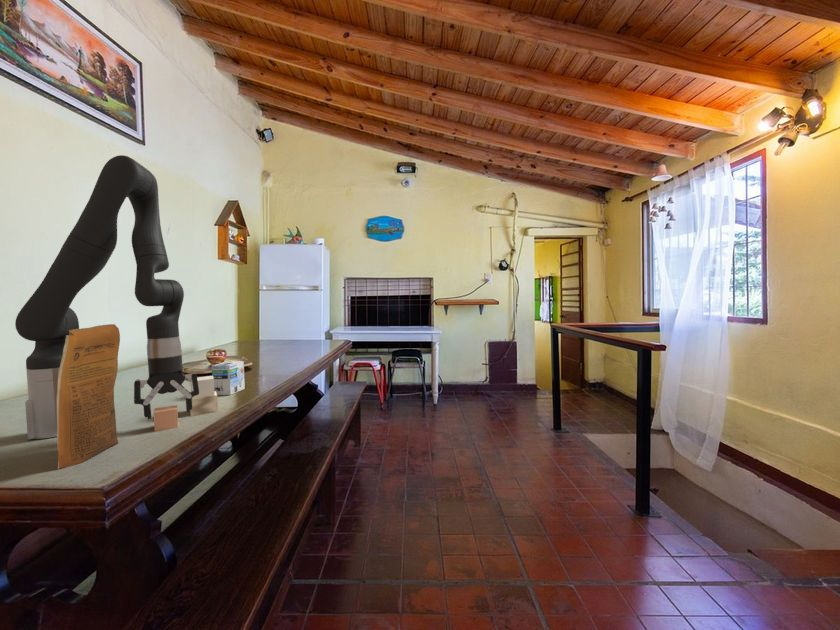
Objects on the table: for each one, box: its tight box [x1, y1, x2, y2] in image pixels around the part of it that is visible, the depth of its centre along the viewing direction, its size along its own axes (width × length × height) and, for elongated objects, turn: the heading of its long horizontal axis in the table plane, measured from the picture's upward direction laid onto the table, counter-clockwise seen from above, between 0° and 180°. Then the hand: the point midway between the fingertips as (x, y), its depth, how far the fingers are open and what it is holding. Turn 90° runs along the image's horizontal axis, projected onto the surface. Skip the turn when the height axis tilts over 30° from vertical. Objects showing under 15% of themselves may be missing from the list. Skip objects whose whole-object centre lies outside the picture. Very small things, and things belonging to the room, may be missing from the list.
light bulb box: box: [211, 360, 246, 396], centre depth 138 cm, size 11×7×11 cm, turn 179°
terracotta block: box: [153, 404, 179, 432], centre depth 99 cm, size 5×5×5 cm
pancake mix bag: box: [56, 323, 121, 470], centre depth 82 cm, size 7×19×28 cm, turn 7°
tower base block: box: [190, 391, 219, 417], centre depth 114 cm, size 7×7×5 cm
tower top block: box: [189, 375, 215, 398], centre depth 113 cm, size 6×6×5 cm
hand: (169, 415), depth 100 cm, fingers open, 8 cm apart
